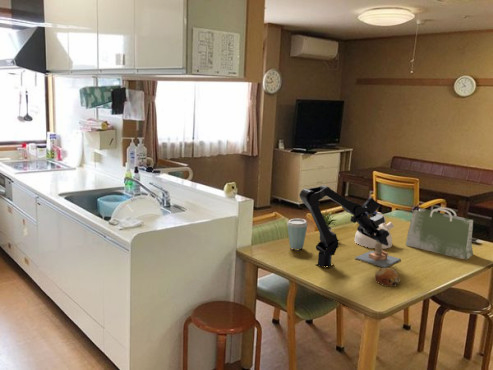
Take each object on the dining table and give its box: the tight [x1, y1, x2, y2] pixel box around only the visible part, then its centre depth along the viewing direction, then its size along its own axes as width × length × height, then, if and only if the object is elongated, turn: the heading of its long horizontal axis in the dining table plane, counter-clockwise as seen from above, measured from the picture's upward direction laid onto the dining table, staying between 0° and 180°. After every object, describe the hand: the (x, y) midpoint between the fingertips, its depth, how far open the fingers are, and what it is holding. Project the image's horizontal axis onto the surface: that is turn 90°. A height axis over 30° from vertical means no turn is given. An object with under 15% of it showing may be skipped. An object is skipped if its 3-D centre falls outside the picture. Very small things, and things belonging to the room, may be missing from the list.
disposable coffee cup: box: [286, 217, 308, 250], centre depth 229 cm, size 11×11×15 cm
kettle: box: [353, 211, 395, 250], centre depth 243 cm, size 20×21×18 cm
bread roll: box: [374, 267, 401, 287], centre depth 191 cm, size 10×10×8 cm
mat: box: [354, 250, 401, 268], centre depth 218 cm, size 16×16×1 cm
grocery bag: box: [405, 206, 474, 260], centre depth 236 cm, size 32×14×23 cm, turn 51°
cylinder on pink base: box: [369, 240, 388, 260], centre depth 217 cm, size 7×5×13 cm
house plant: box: [318, 209, 338, 235], centre depth 248 cm, size 14×14×16 cm
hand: (381, 242), depth 217 cm, fingers open, 9 cm apart
